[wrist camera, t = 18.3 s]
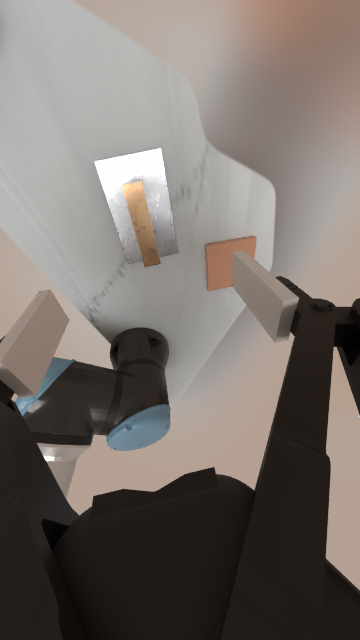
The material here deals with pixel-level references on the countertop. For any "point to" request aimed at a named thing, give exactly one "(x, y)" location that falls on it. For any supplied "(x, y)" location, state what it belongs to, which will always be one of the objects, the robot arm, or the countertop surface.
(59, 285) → the countertop surface
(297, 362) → the robot arm
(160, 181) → the trowel
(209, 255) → the tile
